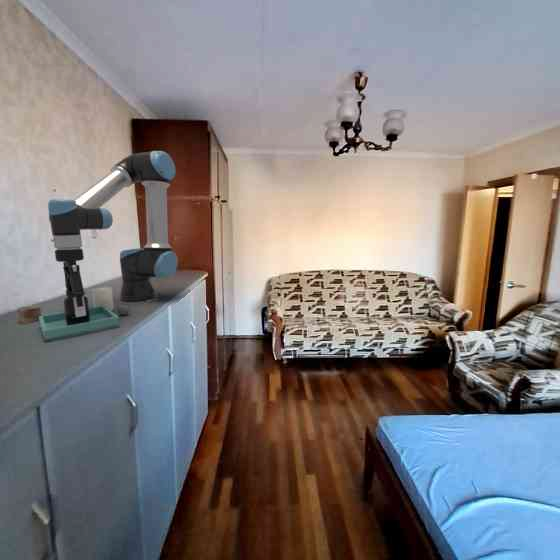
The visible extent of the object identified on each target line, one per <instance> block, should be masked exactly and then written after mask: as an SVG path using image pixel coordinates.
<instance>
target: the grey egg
mask: <svg viewBox="0 0 560 560" xmlns="http://www.w3.org/2000/svg"><path fill="white" fill-rule="evenodd" d="M129 312H130V308H129V306H128V305H126V304H121V305H119V306H118V307H117V313H118V315H120V316H126V315H128V314H129Z"/></svg>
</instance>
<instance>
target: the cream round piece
mask: <svg viewBox="0 0 560 560" xmlns="http://www.w3.org/2000/svg"><path fill="white" fill-rule="evenodd" d="M91 296H92V304H93V307H99V306H106V307H107V308H108V309H109V310H111V311H112V312H113V311H114V310H115V308H114V307H115V305H114V296H113V288H112V286H99V287H95V288H92V289H91Z"/></svg>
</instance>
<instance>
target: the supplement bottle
mask: <svg viewBox="0 0 560 560" xmlns="http://www.w3.org/2000/svg"><path fill="white" fill-rule="evenodd" d="M71 295H73V290H72V289H65V296H66V297H65V298H64V299H63V310H64V312H65V318H66V324H67V326H69V325H74V324H80V323H85V322H90V315H89V308H90V306H89V300H88V297H87V296H86V295H83V296H84V303H85V310H86V316H80V317H76V314H75V307H74V300H73V298H71Z"/></svg>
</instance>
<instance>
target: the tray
mask: <svg viewBox="0 0 560 560" xmlns="http://www.w3.org/2000/svg"><path fill="white" fill-rule="evenodd" d="M89 315H90V322H85V323H80V324H74V325H69V326H67V324H66V318H65V311H64V312H57V313H52V314H45V315H41V316H39V321H38V323H39V327H40V330H41V332H42V336H43V339H44V342H45V343H49V342H55V341H59V340H64V339H68V338H73V337H79V336H83V335H88V334H93V333H97V331H98V332H103V331H106V330H110V329H111V330H112V329H116V328H117V329H118V328H120V320H119V319H120V318H119V316H118V315H117V314H116V313H115V312H113V310H112V311H111V310H109V309H108V308H107V307H106V306H99V307H94V306H93V307H89ZM102 330H103V331H102Z"/></svg>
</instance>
